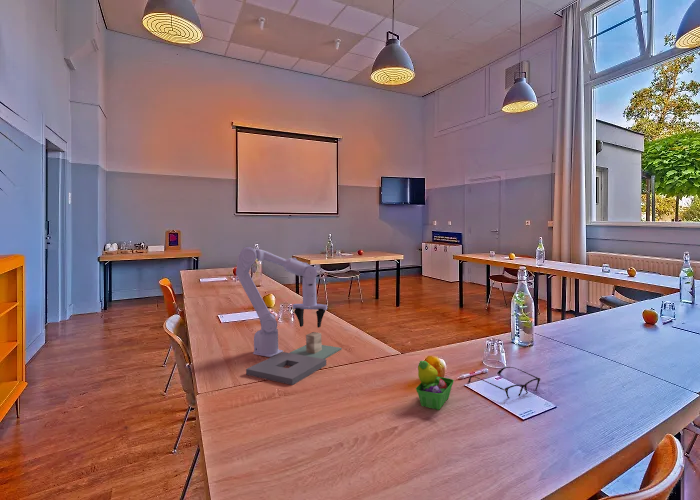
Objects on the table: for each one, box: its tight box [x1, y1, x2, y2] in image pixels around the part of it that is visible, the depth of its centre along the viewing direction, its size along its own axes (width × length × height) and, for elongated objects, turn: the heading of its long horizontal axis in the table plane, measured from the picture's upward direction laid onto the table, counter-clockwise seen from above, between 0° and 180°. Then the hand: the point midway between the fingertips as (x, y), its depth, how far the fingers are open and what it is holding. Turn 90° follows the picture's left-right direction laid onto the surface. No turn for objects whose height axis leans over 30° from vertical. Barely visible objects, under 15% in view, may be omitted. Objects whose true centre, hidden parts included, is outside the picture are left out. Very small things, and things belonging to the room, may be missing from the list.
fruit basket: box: [415, 360, 455, 411], centre depth 105 cm, size 11×9×11 cm
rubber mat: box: [289, 344, 343, 360], centre depth 150 cm, size 16×16×1 cm
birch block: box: [305, 331, 323, 354], centre depth 150 cm, size 4×5×7 cm
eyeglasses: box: [468, 366, 541, 399], centre depth 115 cm, size 16×16×4 cm
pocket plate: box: [245, 351, 327, 386], centre depth 132 cm, size 20×20×2 cm
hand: (310, 326), depth 154 cm, fingers open, 7 cm apart
